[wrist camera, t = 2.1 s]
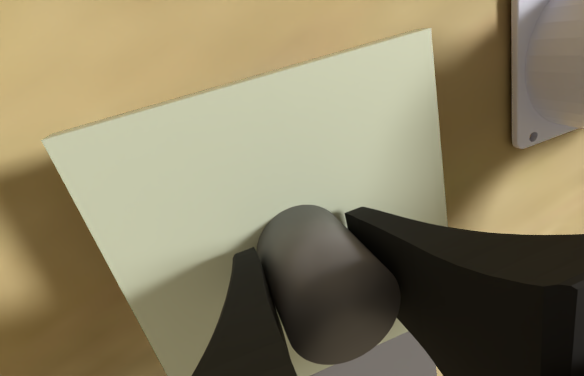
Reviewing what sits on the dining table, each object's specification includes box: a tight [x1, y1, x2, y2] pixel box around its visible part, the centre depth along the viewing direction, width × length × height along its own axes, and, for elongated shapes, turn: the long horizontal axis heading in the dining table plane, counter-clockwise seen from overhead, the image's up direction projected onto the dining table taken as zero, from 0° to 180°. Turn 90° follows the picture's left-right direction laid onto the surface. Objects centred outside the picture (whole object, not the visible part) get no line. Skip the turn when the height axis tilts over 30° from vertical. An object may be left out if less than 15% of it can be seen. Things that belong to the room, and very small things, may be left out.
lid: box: [41, 28, 448, 376], centre depth 11 cm, size 11×11×4 cm
